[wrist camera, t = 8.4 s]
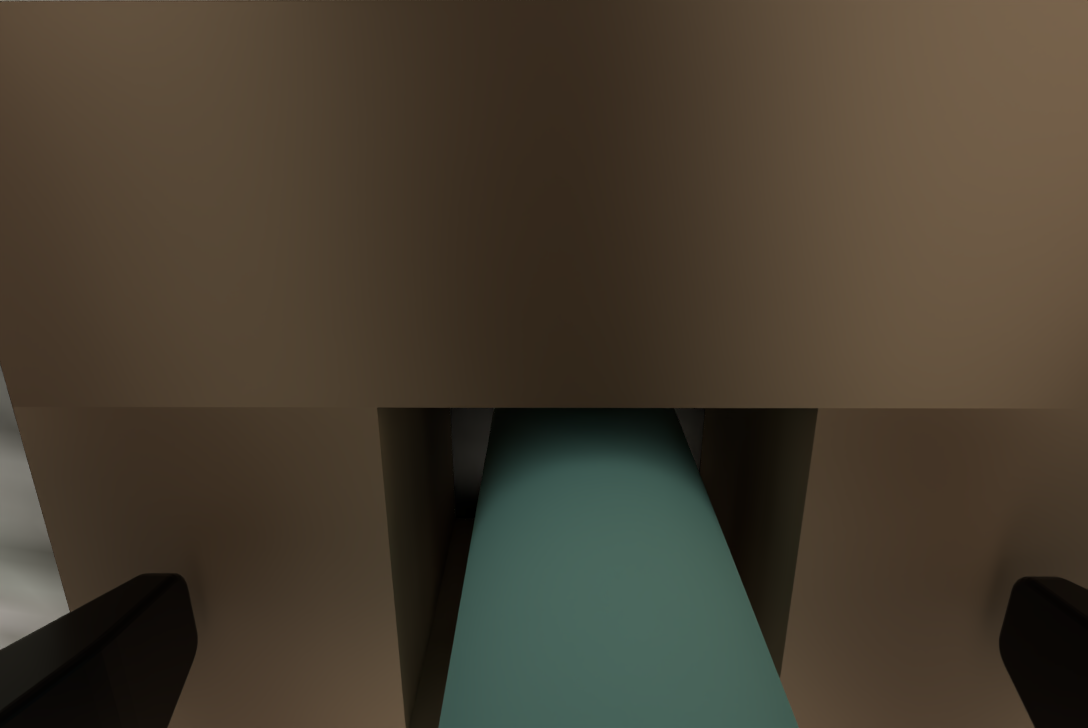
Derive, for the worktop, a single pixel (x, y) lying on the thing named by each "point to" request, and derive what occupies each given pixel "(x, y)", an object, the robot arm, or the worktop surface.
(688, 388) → the socket block
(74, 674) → the robot arm
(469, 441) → the worktop surface
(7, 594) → the worktop surface
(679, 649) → the peg
